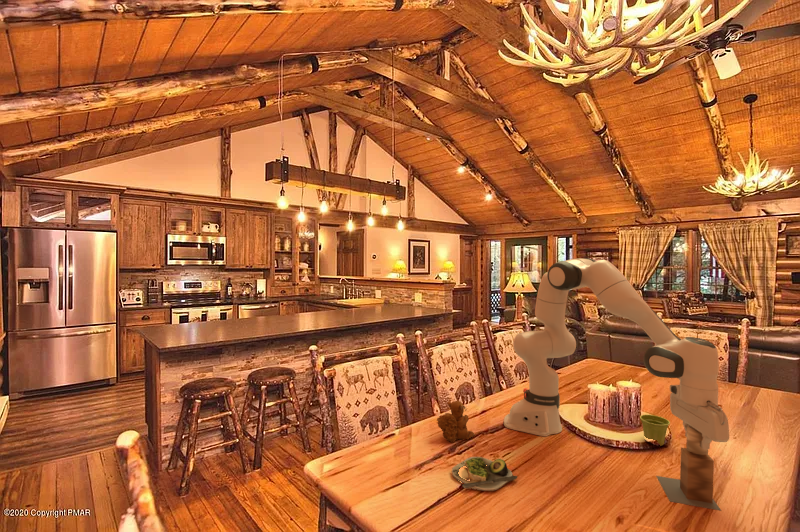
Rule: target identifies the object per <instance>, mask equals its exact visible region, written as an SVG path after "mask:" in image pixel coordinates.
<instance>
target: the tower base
mask: <svg viewBox="0 0 800 532" xmlns="http://www.w3.org/2000/svg"><path fill="white" fill-rule="evenodd" d="M679 471H680V474H679V477H680V478H679V480H680V488H681V490H682V491H683V493H684V495H685V496H686V498H687V499H690V500H696V501H702V502H707V503H713V500H714V481H713V482H709V481H703V480H697V479H691V478H687V476H686V475H685V473H684V472H683V470H682V469H681V467H680V470H679Z"/></svg>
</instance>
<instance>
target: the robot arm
mask: <svg viewBox="0 0 800 532" xmlns="http://www.w3.org/2000/svg"><path fill="white" fill-rule="evenodd" d="M538 285H539V286H538V289H537V296H536V302H535V309H534V315H535V318H536V319H537V321H539V322H540V323H542V324H543V325H544V328H543V330H528V331H527V330H526V331H522V332H520V333H517V334H516V335H515V337H514V339H513V342H512V345H513V350H514V353H516V355H517V356H518V357H519V358H520V359H522V360H523V362H524V363H525V365H526V367H527V370H528V377H529V378H528V379H529V380H528V381H529V389H528V387H524V388H523V389H522V391H523V398H522V399H521V400H519V401H516V402H515V403H513V404H512V405H511V408H510V411H509V413H508V414H506V415H505V416H504V417H503V425H504V427H505V428H507V429H511V430H514V431H517V432H518V431H519V432H522V433H527V434H531V435H536V436H540V437H548V436H549V435H553V434H554V435H555V434H559V433H561V432H562V431H563V427H562V424H561V423H562V422H561V419H560V410H559V409H560V403H561V402H560V401H561V399H560V397H561V395H560V393H559V379H560V377H559V374H558V373H557V371H556V370H555V369H554V368H552V367H550V366H548V362H547V361H548V359H556V358H558V359H559V358H561V359H562V358H565V357H568V356H571V355H573V354H574V353H575V351H576V349H577V348H576V347H577V341H576V338H575V336H574V335H573V334H572V333H571V332H570V331H569V329H568V328H567V326H566V319H565V317H566V310H567V303H568V296H569V292H570V291H571V290H573V291H574V290H579V289H580V290H581V289H583V288H586V287H588V289H590V290H591V291H592V293H593V294H594V296H595V298H597V300H598V301H599V303H600V304H601V306H602V307H603V308H604V309H606V311H608V312H609V314H612V315H614V316H617V317H621V318H624V319H627V320H629V321H632V322H634V323H635V324H637V325H638V326H639V327H640V328H641V329H642V330H643V331H644V332H645V334H647V336H648V337H649V338H650V340H652V342H653V343H654V344H655V345H653V346H651V347H650V348H648V349H647V350H645V352H644V354H643V357H642V359H643V364H644V366H645V368H646V370H647V371H648V372H649V373H650V374H651V375H654V376H655V377H659V378H666V379H678V380H679V384H670V385H669V391H670V399H669V402H670V403H669V407H670V408H669V409H670V412H671V414H672V415H673V416H675V417H676V418H678V419H679V420H681V421H682V425H683V428H684V431H685V438H687V427H688V426H691V427H693V428H695V429H696V430H698V431H699V432H701V433H702V437H703V440H702V441H700V445H699V446H700V447H701V448H703V449H704V450H708V451H709V450H710V447H711V446H710V445H711V443H712V442H716V443H727V442H728V441H729V440H730V425H729V419H728V416H727V414H726V413H725V412H724V410H723V408H722V407H721V406H720V405H719V384H718V381H717V380H718V376H719V374H720V373H719V372H720V368H719V367H720V364H719V363H720V362H719V361H720V359H719V352H718V349H717V347H716V345H715V344H714V343H712V342H710V341H709V340H707V339H704V338H701V337H694V336H686V337H684V338H683V339H682V338H680V337H678V336H677V335H676V334H675V333H674V332H673V331H672V330H671V328H670V327H669V326H668V325H667V324H666V323H665V322H664V321H663V320H662V318H661V317H660V316H659V315H658V314H657V313H656V312H655V310H653V308H652V307H651V306H650V305H649V304H648V303H647V301H646V300H644V299H643V297H642V296H641V295H640V294H639V293H638V292H637V290H636V289H635V287H634V286H633V285H632V284H631V283H630V281H629V280H628V279H627V277H626V276H625V275H624V274H623V273H622V272H621V271H620V270H619V269H618V268H617V267H616V265H614V264H613V263H612V262H610V261H609V260H607V259H600V260H599V259H598V260H596V259H593V258H590V257H589V258H588V257H583V258H580V257H579V258H571V259H567V260H560V261H558V262H555V263H552V265H551V266H549V268H548V270H547V272H545V273H544V274H543V275H542V277H541V280H540V283H539V284H538Z"/></svg>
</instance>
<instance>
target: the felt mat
mask: <svg viewBox="0 0 800 532" xmlns="http://www.w3.org/2000/svg"><path fill="white" fill-rule="evenodd" d="M655 477H656V478H657V480H658V483H659V484H660V486H661V489H662V490H663V492H664V493H665V495H666V498H667V499H668V501H669V502H670V503H676V504H681V505H686V506H687V505H688V506H692V507H698V508H703V509H709V510H716V511H721V512H722V509H721V508H720V507H719V505H718V504H717V502H716V501H715V500H714V499H713V503H707V502H702V501H696V500H690V499H687V498H686V496H685V495H684V493H683V491H682V490H681V488H680V478H679V479H678V478H674V477H673V478H672V477H666V476H661V475H655Z"/></svg>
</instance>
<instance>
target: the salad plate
mask: <svg viewBox="0 0 800 532" xmlns="http://www.w3.org/2000/svg"><path fill="white" fill-rule="evenodd" d="M486 465H487V466H486ZM463 466H466V467H467V468H468V469H467V468H466V469H467V475H468V479H469V478H470V481H467V480H465V479H466V478H465V479H463V478H464V477H463V478H461V477H460V476H459V474H458V472H459V469H460V468H461V467H463ZM451 475H452V477H453V478H454V479H456V481H458V480H459V481H461V482H462V483H464V484H462V483H461V484H462V486H461V487H462V488H463V489H467V490H468V489H469V490H470V489H471V488H472V490H476V489H477V491H484V492H485V491H486V492H487V491H488V492H493V491H496V490H499V489H500V488H502V487H503V486H505V485H507V484H508V483H510V482H512V481H514V480H517V479H518V475H514V474H513V472H512V470H511V469H509V468H508V465H507V463H506V461H505V460H504V459H501V458H497V459H494V460H493V461H492V460H491V459H488V458H486V457H483V456H470V457H468V458H466V459H464V460H463V461H461V462H459V463H457V464H456V465H454V466H453V467H452V468H451ZM459 481H458V482H459Z"/></svg>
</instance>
